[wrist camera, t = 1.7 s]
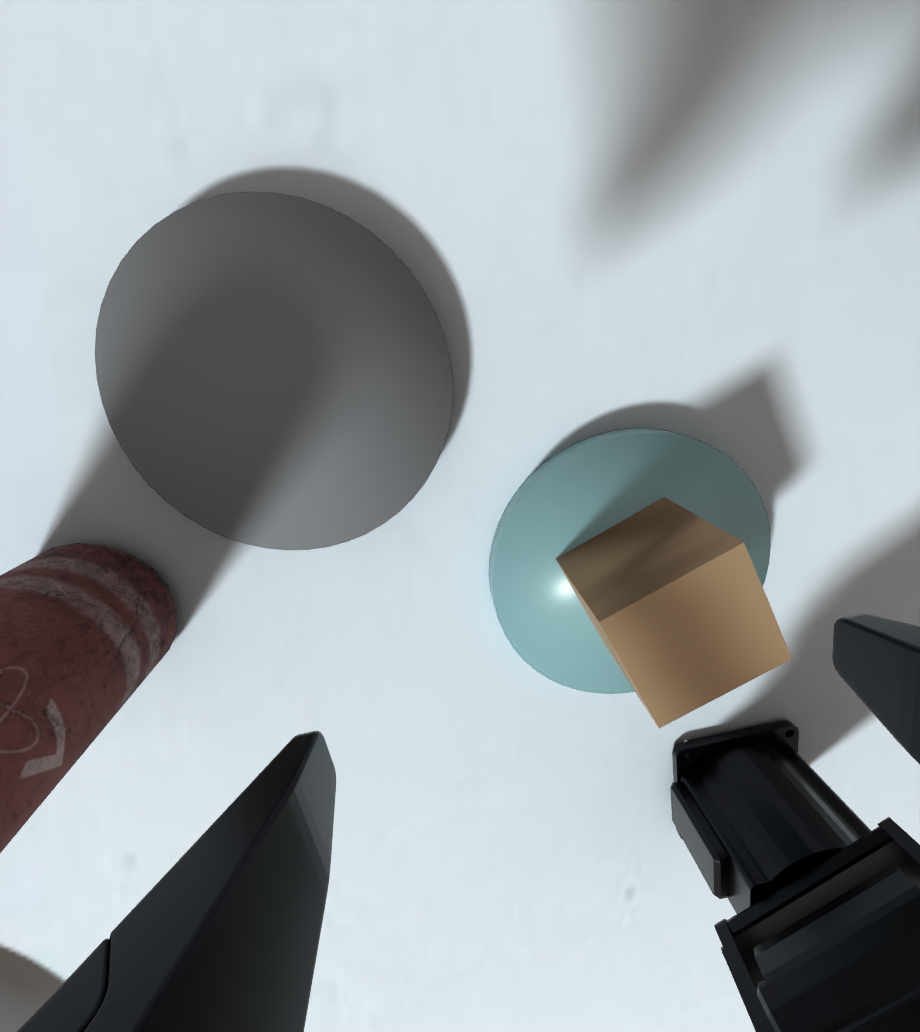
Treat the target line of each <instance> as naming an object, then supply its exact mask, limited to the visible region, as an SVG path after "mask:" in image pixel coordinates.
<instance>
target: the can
mask: <svg viewBox="0 0 920 1032" xmlns="http://www.w3.org/2000/svg"><path fill="white" fill-rule="evenodd" d="M176 631H177V629H176V609H175V605H174V603H173V600H172V598H171V595H170V593H169V590H168V588H167V586H166V584H165V583H164V582H163V581H162V579H161V578H160V577H159V576H158V575H157V573H156V572H155V571H154V570H153V569H152V568H150V567H149V566H148V565H146V564H145V563H143V562H142V561H140V560H139V559H138V558H136V557H135V556H132V555H129V554H127V553H124V552H121V551H119V550H116V549H113V548H110V547H106V546H99V545H90V544H80V543H77V544H71V545H65V546H60V547H54V548H51V549H49V550H47V551H46V552H44V553H42V554H40V555H38V556H36V557H34V558H32V559H31V560H29V561H27V562H25V563H23V564H21V565H19V566H18V567H16V568H14V569H12V570H10V571H8V572H6V573H4V574H3V575H1V576H0V853H1V852H2V850H3V849H4V848H5V847H6V846H7V844H8V843H9V842H10V841H11V840H12V838H13V837H14V836H15V835H16V834H17V832H18V831H19V830H20V829H21V827H22V826H23V825H24V824H25V823H26V821H27V820H28V819H29V818H30V817H31V815H32V814H33V813H34V812H35V811H36V809H37V808H38V807H39V806H40V805H41V803H42V802H43V801H44V800H45V799H46V797H47V796H48V795H49V794H50V793H51V791H52V790H53V789H54V788H55V787H56V785H57V784H58V783H59V782H60V781H61V779H62V778H63V777H64V776H65V774H66V773H67V772H68V771H69V770H70V768H71V767H72V766H73V765H74V764H75V762H76V761H77V760H78V759H79V758H80V756H81V755H82V754H83V753H84V752H85V750H86V749H87V748H88V747H89V746H90V744H91V743H92V742H93V741H94V740H95V738H96V737H97V736H98V735H99V734H100V732H101V731H102V730H103V729H104V727H105V726H106V725H107V724H108V723H109V721H110V720H111V719H112V718H113V717H114V715H115V714H116V713H117V712H118V711H119V709H120V708H121V707H122V706H123V705H124V703H125V702H126V701H127V700H128V699H129V697H130V696H131V695H132V694H133V693H134V691H135V690H136V689H137V688H138V687H139V685H140V684H141V683H142V682H143V680H144V679H145V678H146V677H147V676H148V674H149V673H150V672H151V671H152V670H153V668H154V667H155V666H156V665H157V664H158V662H159V661H160V660H161V659H162V658H163V656H164V655H165V654H166V653H167V652H168V650H169V649H170V647H171V644H172V641H173V639H174V636H175V634H176Z"/></svg>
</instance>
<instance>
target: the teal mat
mask: <svg viewBox="0 0 920 1032" xmlns="http://www.w3.org/2000/svg"><path fill="white" fill-rule="evenodd" d="M663 497H666V498H667V499H669V500H671V501H673V502H674V503H676V504H678V505H680V506H681V507H683V508H685V509H687V510H688V511H690V512H692V513H694V514H695V515H697V516H699V517H701V518H702V519H704V520H706V521H708V522H709V523H711V524H713V525H715V526H716V527H718V528H720V529H722V530H723V531H725V532H727V533H729V534H730V535H732V536H734V537H736V538H737V539H739V540H741V541H743V542H744V543H745V546H746V548H747V551H748V553H749V555H750V558H751V560H752V563H753V565H754V568H755V570H756V573H757V575H758V577H759V580H760V582H761V585H762V587H763V584H764V581H765V578H766V573H767V569H768V565H769V557H770V547H771V546H770V528H769V523H768V517H767V513H766V510H765V507H764V504H763V501H762V499H761V496H760V495H759V493H758V491H757V489H756V487H755V485H754V484H753V482H752V481H751V480H750V478H749V477H748V476H747V474H746V473H745V472H744V470H743V469H742V468H740V467H739V466H738V465H737V464H736V463H735V462H734V461H733V460H732V459H731V458H729V457H728V456H726V455H725V454H724V453H722V452H721V451H719V450H718V449H716V448H714V447H712V446H710V445H707V444H705V443H703V442H701V441H698V440H695V439H692V438H689V437H685V436H682V435H679V434H675V433H672V432H668V431H663V430H656V429H623V430H616V431H610V432H606V433H602V434H599V435H595V436H592V437H589V438H587V439H584V440H582V441H580V442H577V443H575V444H573V445H571V446H569V447H568V448H566V449H564V450H562V451H560V452H559V453H557V454H556V455H554V456H553V457H552V458H550V459H549V460H548V461H546V462H545V463H544V464H542V465H541V466H540V467H539V468H538V469H537V470H536V471H535V472H534V473H533V474H531V475H530V476H529V477H528V478H527V479H526V481H525V482H524V483H523V484H522V486H521V487H520V488H519V489H518V490H517V492H516V493H515V494H514V496H513V497H512V499H511V501H510V502H509V504H508V505H507V507H506V508H505V511H504V513H503V515H502V517H501V519H500V521H499V523H498V526H497V529H496V532H495V535H494V538H493V541H492V546H491V552H490V558H489V582H490V591H491V595H492V599H493V602H494V606H495V609H496V613H497V616H498V619H499V622H500V624H501V626H502V629H503V631H504V633H505V635H506V637H507V639H508V640H509V642H510V643H511V645H512V647H513V648H514V649H515V650H516V652H517V653H518V654H519V655H520V656H521V658H522V659H523V660H524V661H525V662H527V663H528V664H529V665H530V666H531V667H532V668H533V669H535V670H536V671H537V672H539V673H541V674H542V675H544V676H545V677H547V678H548V679H550V680H553V681H555V682H557V683H559V684H561V685H564V686H567V687H570V688H573V689H576V690H581V691H586V692H592V693H605V694H614V693H628V692H635V690H634V689H633V687H632V686H631V684H630V683H629V681H628V680H627V678H626V677H625V675H624V674H623V672H622V671H621V669H620V668H619V666H618V664H617V663H616V661H615V660H614V658H613V657H612V655H611V654H610V652H609V651H608V649H607V648H606V646H605V644H604V643H603V641H602V639H601V637H600V636H599V634H598V632H597V630H596V629H595V627H594V625H593V623H592V622H591V620H590V618H589V616H588V615H587V613H586V611H585V609H584V608H583V606H582V604H581V602H580V601H579V599H578V597H577V595H576V594H575V592H574V590H573V588H572V587H571V585H570V583H569V581H568V580H567V578H566V576H565V574H564V573H563V571H562V569H561V567H560V566H559V564H558V562H557V561H556V558H558V557H560V556H561V555H563V554H565V553H567V552H568V551H570V550H572V549H574V548H575V547H577V546H579V545H581V544H582V543H584V542H586V541H588V540H589V539H591V538H593V537H595V536H596V535H598V534H600V533H602V532H604V531H605V530H607V529H609V528H611V527H612V526H614V525H616V524H618V523H619V522H621V521H623V520H625V519H626V518H628V517H630V516H632V515H633V514H635V513H637V512H639V511H640V510H642V509H644V508H646V507H647V506H649V505H651V504H653V503H655V502H656V501H658V500H660V499H662V498H663Z"/></svg>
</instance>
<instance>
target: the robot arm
mask: <svg viewBox="0 0 920 1032" xmlns="http://www.w3.org/2000/svg"><path fill="white" fill-rule="evenodd" d="M833 663H834V666H835V669H836V670H837V672H838V674H839V675H840V676H841V677H842V678H843V680H844V681H845V682H846V683H847V684H848V685H849V686H850V688H851V689H852V690H853V691H854V692H855V693H856V694H857V695H858V697H859V698H860V699H861V700H862V701H863V702H864V703H865V705H866V706H867V707H868V708H869V709H870V710H871V711H872V713H873V714H874V715H875V716H876V717H877V718H878V719H879V721H880V722H881V723H882V724H883V725H884V726H885V727H886V728H887V730H888V731H889V732H890V733H891V734H892V735H893V736H894V738H895V739H896V740H897V741H898V742H899V743H900V744H901V745H902V746H903V747H904V749H905V750H906V751H907V752H908V753H909V754H910V755H911V756H912V757H913V758H914V759H915V760H916V761H917V762H918V763H919V764H920V627H919V626H915V625H911V624H906V623H902V622H897V621H893V620H889V619H884V618H880V617H875V616H871V615H866V614H858V615H853V616H849V617H844V618H840V619H839V620H837V621H836V623H835V625H834V637H833ZM798 737H799V730H798V728H797V727H796V726H795V725H794V724H793V723H792V722H791V721H788V720H786V721H780V722H776V723H771V724H766V725H762V726H757V727H753V728H748V729H744V730H739V731H734V732H730V733H725V734H721V735H716V736H712V737H707V738H703V739H698V740H693V741H689V742H684V743H680V744H678V745H676V746H675V747H674V749H673V752H672V756H673V775H674V782H673V783H672V785H671V805H672V820H673V822H674V824H675V826H676V829H677V832H678V834H679V836H680V837H681V838H682V839H683V840H684V842H685V844H686V846H687V848H688V849H689V851H690V853H691V855H692V857H693V859H694V860H695V862H696V864H697V866H698V868H699V869H700V871H701V873H702V875H703V877H704V878H705V880H706V882H707V884H708V886H709V887H710V889H711V891H712V893H713V894H714V895H715V896H717V897H718V898H719V899H723V898H728V899H729V901H730V903H731V905H732V906H733V908H734V910H735V912H736V913H737V915H735V916H734V917H732V918H730V919H729V920H726V919H723V920H722V921H720V922H718V923H717V924H715V925H714V926H715V929H716V931H717V934H718V936H719V938H720V941H721V943H722V945H723V947H721V950H722V953H723V955H724V957H725V959H726V962H727V964H728V966H729V969H730V971H731V974H732V976H733V978H734V981H735V983H736V985H737V988H738V990H739V993H740V995H741V997H742V1000H743V1002H744V1004H745V1007H746V1009H747V1012H748V1014H749V1016H750V1019H751V1021H752V1023H753V1026H754V1028H755V1031H756V1032H920V845H919V844H918V843H917V842H916V841H915V840H914V839H913V838H912V837H910V836H909V835H908V834H907V833H906V832H905V831H904V830H903V829H902V828H901V827H899V826H898V825H897V824H896V823H895V822H894V821H893V820H892V819H891V818H889V817H888V818H886V819H885V820H883V821H881V822H880V823H878V826H879V827H877V828H876V829H874V830H873V831H871V830H870V829H869V828H868V827H867V826H866V824H865V823H864V822H863V821H862V820H861V819H860V818H859V817H858V816H857V815H856V814H855V813H854V812H853V811H852V810H851V809H850V808H849V807H848V806H847V805H846V804H845V803H844V801H843V800H842V799H841V798H840V797H839V796H838V795H837V794H836V793H835V792H834V791H833V790H832V789H831V788H830V787H829V786H828V785H827V784H826V783H825V782H824V781H823V780H822V779H821V777H820V776H819V775H818V774H817V773H816V772H815V771H814V770H813V769H812V768H811V767H810V766H809V765H808V764H807V763H806V762H805V761H804V760H803V759H802V758H801V757H800V756H799V755H798ZM335 792H336V772H335V768H334V764H333V762H332V759H331V756H330V753H329V750H328V747H327V745H326V742H325V739H324V737H323V735H322V733H321V732H319V731H313V732H308V733H304V734H299V735H297V736H295V737H294V738H293V739H292V740H291V741H290V742H289V743H288V744H287V745H286V746H285V747H284V748H283V749H282V750H281V752H280V753H279V754H278V755H277V756H276V757H275V758H274V759H273V760H272V761H271V762H270V763H269V764H268V765H267V767H266V768H265V769H264V770H263V771H262V772H261V773H260V774H259V775H258V776H257V777H256V778H255V779H254V780H253V781H252V783H251V784H250V785H249V786H248V787H247V788H246V789H245V790H244V791H243V792H242V793H241V794H240V795H239V796H238V798H237V799H236V800H235V801H234V802H233V803H232V804H231V805H230V806H229V807H228V808H227V809H226V810H225V811H224V813H223V814H222V815H221V816H220V817H219V818H218V819H217V820H216V821H215V822H214V823H213V824H212V825H211V826H210V828H209V829H208V830H207V831H206V832H205V833H204V834H203V835H202V836H201V837H200V838H199V839H198V840H197V841H196V842H195V844H194V845H193V846H192V847H191V848H190V849H189V850H188V851H187V852H186V853H185V854H184V855H183V856H182V857H181V859H180V860H179V861H178V862H177V863H176V864H175V865H174V866H173V867H172V868H171V869H170V870H169V871H168V872H167V874H166V875H165V876H164V877H163V878H162V879H161V880H160V881H159V882H158V883H157V884H156V885H155V886H154V887H153V889H152V890H151V891H150V892H149V893H148V894H147V895H146V896H145V897H144V898H143V899H142V900H141V901H140V902H139V903H138V905H137V906H136V907H135V908H134V909H133V910H132V911H131V912H130V913H129V914H128V915H127V916H126V917H125V918H124V919H123V921H122V922H121V923H120V924H119V925H118V926H117V927H116V928H115V929H114V930H113V931H112V933H111V934H110V939H105V940H104V941H103V942H102V943H101V944H100V945H99V946H98V947H97V948H96V949H95V950H94V951H93V952H92V954H91V955H90V956H89V957H88V958H87V959H86V960H85V961H84V962H83V963H82V964H81V965H80V966H79V967H78V969H77V970H76V971H75V972H74V973H73V974H72V975H71V976H70V977H69V978H68V979H67V980H66V981H65V982H64V983H63V984H62V985H61V986H60V987H59V988H58V989H57V990H56V991H55V993H54V994H53V995H52V996H51V997H50V998H49V999H48V1000H47V1001H46V1002H45V1003H44V1004H43V1005H42V1006H41V1007H40V1008H39V1009H38V1010H37V1011H36V1012H35V1013H34V1014H33V1016H31V1018H30V1019H29V1020H28V1021H27V1022H26V1023H25V1024H24V1025H23V1026H22V1027H21V1028H20V1029H19V1030H18V1031H17V1032H304V1026H305V1021H306V1015H307V1009H308V1003H309V997H310V991H311V985H312V979H313V974H314V968H315V962H316V956H317V950H318V944H319V938H320V932H321V927H322V921H323V915H324V909H325V903H326V897H327V890H328V883H329V875H330V864H331V850H332V836H333V821H334V807H335Z"/></svg>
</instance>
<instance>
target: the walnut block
mask: <svg viewBox="0 0 920 1032" xmlns="http://www.w3.org/2000/svg"><path fill="white" fill-rule="evenodd" d="M556 561H557V562H558V564H559V566H560V567H561V569H562V571H563V573H564V574H565V576H566V578H567V580H568V581H569V583H570V585H571V587H572V588H573V590H574V592H575V594H576V595H577V597H578V599H579V601H580V602H581V604H582V606H583V608H584V609H585V611H586V613H587V615H588V616H589V618H590V620H591V622H592V623H593V625H594V627H595V629H596V630H597V632H598V634H599V636H600V637H601V639H602V641H603V643H604V644H605V646H606V648H607V649H608V651H609V652H610V654H611V655H612V657H613V658H614V660H615V661H616V663H617V664H618V666H619V668H620V669H621V671H622V672H623V674H624V675H625V677H626V678H627V680H628V681H629V683H630V684H631V686H632V687H633V689H634V690H635V692H636V694H637V695H638V697H639V698H640V700H641V701H642V703H643V704H644V706H645V707H646V709H647V710H648V712H649V713H650V715H651V717H652V718H653V720H654V721H655V723H656V724H657V726H658V727H659V728H661V727H662V726H664V725H666V724H668V723H670V722H672V721H674V720H676V719H678V718H680V717H682V716H684V715H685V714H687V713H689V712H691V711H693V710H695V709H697V708H699V707H701V706H703V705H705V704H707V703H708V702H710V701H712V700H714V699H716V698H718V697H720V696H722V695H724V694H726V693H728V692H729V691H731V690H733V689H735V688H737V687H739V686H741V685H743V684H745V683H747V682H749V681H751V680H752V679H754V678H756V677H758V676H760V675H762V674H764V673H766V672H768V671H770V670H772V669H774V668H775V667H777V666H779V665H781V664H783V663H785V662H787V661H789V660H791V659H792V658H791V656H790V653H789V651H788V648H787V646H786V643H785V641H784V638H783V636H782V634H781V631H780V629H779V626H778V624H777V621H776V619H775V617H774V614H773V612H772V609H771V607H770V604H769V602H768V599H767V597H766V595H765V592H764V590H763V587H762V585H761V582H760V580H759V577H758V575H757V573H756V570H755V568H754V565H753V563H752V560H751V558H750V555H749V553H748V551H747V548H746V546H745V543H744V542H743V541H741V540H739V539H737V538H736V537H734V536H732V535H730V534H729V533H727V532H725V531H723V530H722V529H720V528H718V527H716V526H715V525H713V524H711V523H709V522H708V521H706V520H704V519H702V518H701V517H699V516H697V515H695V514H694V513H692V512H690V511H688V510H687V509H685V508H683V507H681V506H680V505H678V504H676V503H674V502H673V501H671V500H669V499H667V498H666V497H663V498H662V499H660V500H658V501H656V502H655V503H653V504H651V505H649V506H647V507H646V508H644V509H642V510H640V511H639V512H637V513H635V514H633V515H632V516H630V517H628V518H626V519H625V520H623V521H621V522H619V523H618V524H616V525H614V526H612V527H611V528H609V529H607V530H605V531H604V532H602V533H600V534H598V535H596V536H595V537H593V538H591V539H589V540H588V541H586V542H584V543H582V544H581V545H579V546H577V547H575V548H574V549H572V550H570V551H568V552H567V553H565V554H563V555H561V556H560V557H558V558H556Z"/></svg>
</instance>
